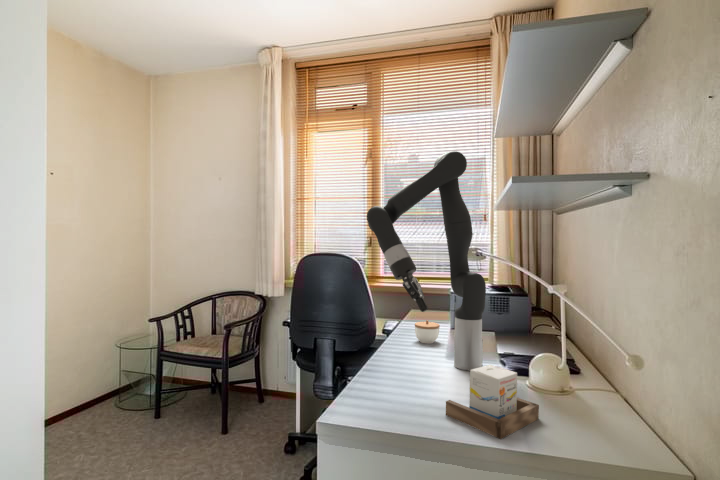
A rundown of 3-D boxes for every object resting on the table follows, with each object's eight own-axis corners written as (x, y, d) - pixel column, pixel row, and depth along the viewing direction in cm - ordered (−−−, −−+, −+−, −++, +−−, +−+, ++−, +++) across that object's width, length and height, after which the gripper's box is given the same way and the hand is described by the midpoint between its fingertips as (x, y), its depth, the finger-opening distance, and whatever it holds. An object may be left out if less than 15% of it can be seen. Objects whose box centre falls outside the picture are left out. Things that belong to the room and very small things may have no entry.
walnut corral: (484, 399, 113) (484, 386, 113) (538, 418, 100) (538, 404, 100) (445, 415, 102) (445, 401, 102) (500, 439, 90) (501, 423, 90)
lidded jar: (432, 338, 182) (433, 317, 182) (443, 344, 172) (444, 322, 172) (410, 339, 179) (411, 318, 179) (420, 345, 169) (420, 323, 169)
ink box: (497, 428, 95) (498, 378, 95) (468, 415, 102) (468, 369, 102) (517, 418, 100) (518, 371, 100) (488, 407, 107) (489, 363, 107)
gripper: (403, 252, 122) (430, 303, 116) (415, 259, 134) (440, 305, 128) (382, 264, 124) (408, 315, 118) (396, 270, 136) (420, 316, 130)
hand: (425, 310), depth 123 cm, fingers closed
